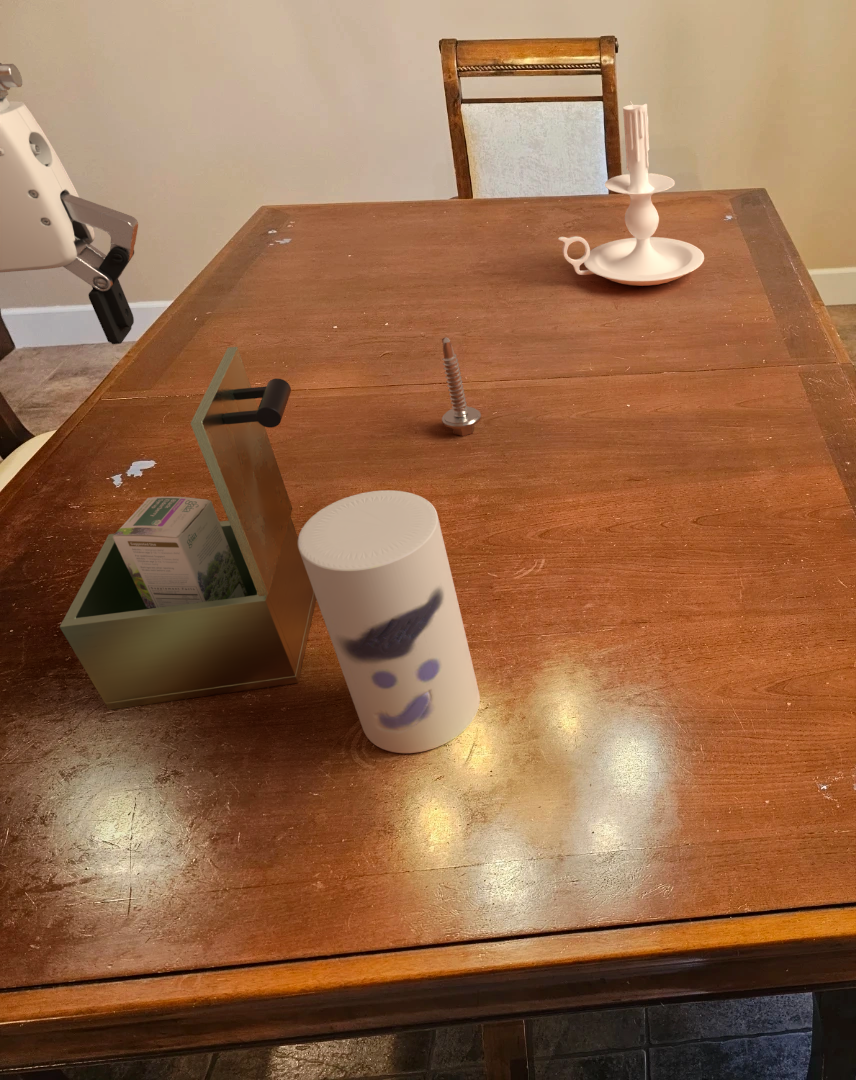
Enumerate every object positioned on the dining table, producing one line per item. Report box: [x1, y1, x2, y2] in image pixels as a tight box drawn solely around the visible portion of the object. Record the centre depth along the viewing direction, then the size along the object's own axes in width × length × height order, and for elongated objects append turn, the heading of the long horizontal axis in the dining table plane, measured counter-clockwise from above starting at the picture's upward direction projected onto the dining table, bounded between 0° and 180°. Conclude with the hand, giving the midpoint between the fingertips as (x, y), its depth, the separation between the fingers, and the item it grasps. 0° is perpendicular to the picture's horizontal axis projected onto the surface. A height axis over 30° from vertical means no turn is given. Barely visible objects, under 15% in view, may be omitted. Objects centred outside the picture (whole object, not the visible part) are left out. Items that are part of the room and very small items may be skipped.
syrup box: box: [113, 496, 248, 609], centre depth 82 cm, size 6×6×14 cm
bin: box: [59, 515, 317, 711], centre depth 84 cm, size 16×13×10 cm
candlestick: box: [557, 100, 705, 287], centre depth 151 cm, size 21×25×28 cm
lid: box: [190, 346, 293, 596], centre depth 77 cm, size 17×13×5 cm
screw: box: [441, 336, 482, 437], centre depth 115 cm, size 13×5×5 cm
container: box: [297, 489, 481, 754], centre depth 75 cm, size 10×10×20 cm
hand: (50, 342), depth 68 cm, fingers open, 9 cm apart
